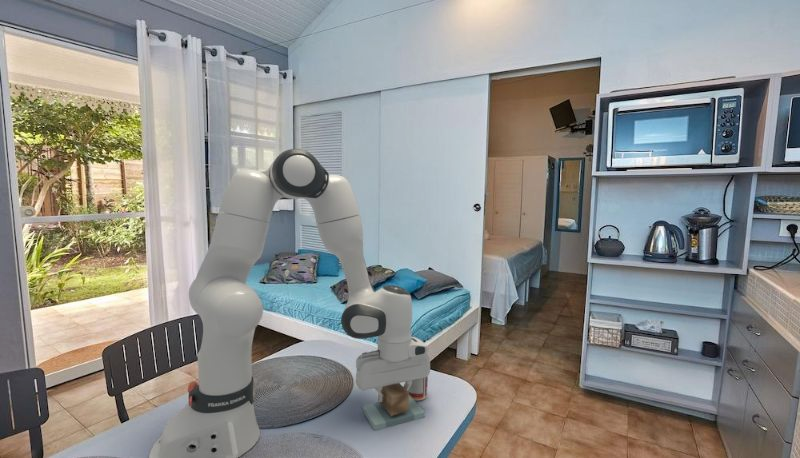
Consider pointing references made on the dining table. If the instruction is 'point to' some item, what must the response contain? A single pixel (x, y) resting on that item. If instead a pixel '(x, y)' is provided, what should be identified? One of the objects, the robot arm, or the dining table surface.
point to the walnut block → (395, 399)
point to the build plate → (383, 419)
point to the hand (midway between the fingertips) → (393, 397)
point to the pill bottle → (418, 389)
